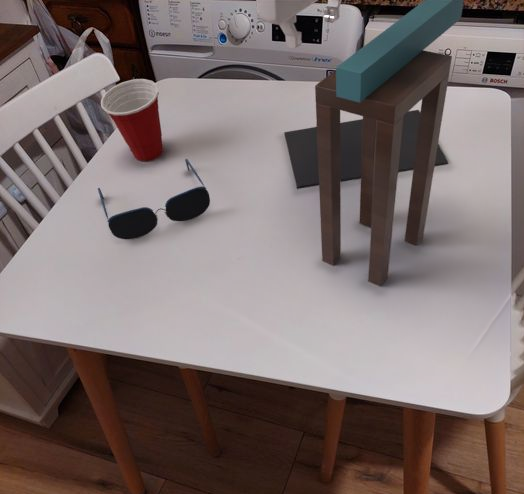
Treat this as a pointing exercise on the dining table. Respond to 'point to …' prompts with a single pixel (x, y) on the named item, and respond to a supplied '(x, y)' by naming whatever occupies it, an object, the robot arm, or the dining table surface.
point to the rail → (395, 48)
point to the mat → (349, 150)
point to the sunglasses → (146, 220)
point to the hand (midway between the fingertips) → (313, 33)
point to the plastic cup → (136, 116)
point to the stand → (381, 155)
